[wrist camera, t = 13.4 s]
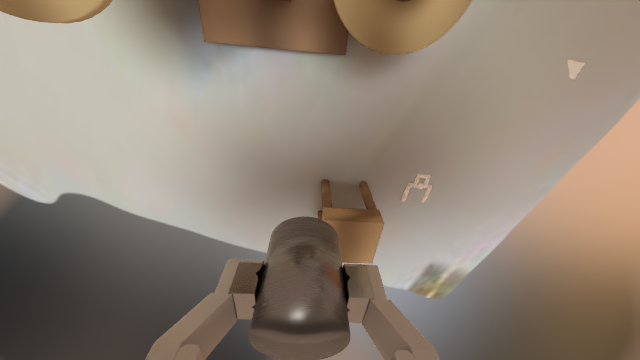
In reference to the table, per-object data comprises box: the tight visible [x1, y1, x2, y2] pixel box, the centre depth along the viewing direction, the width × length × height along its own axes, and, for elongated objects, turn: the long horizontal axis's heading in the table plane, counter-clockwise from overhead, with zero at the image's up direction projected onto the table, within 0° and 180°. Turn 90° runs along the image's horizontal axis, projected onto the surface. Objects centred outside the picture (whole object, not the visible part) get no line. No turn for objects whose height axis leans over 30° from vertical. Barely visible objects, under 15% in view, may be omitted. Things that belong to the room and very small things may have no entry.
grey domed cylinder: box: [248, 217, 350, 360], centre depth 10 cm, size 4×4×4 cm
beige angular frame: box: [401, 60, 585, 203], centre depth 27 cm, size 25×17×1 cm
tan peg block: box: [318, 180, 384, 263], centre depth 26 cm, size 6×6×8 cm
